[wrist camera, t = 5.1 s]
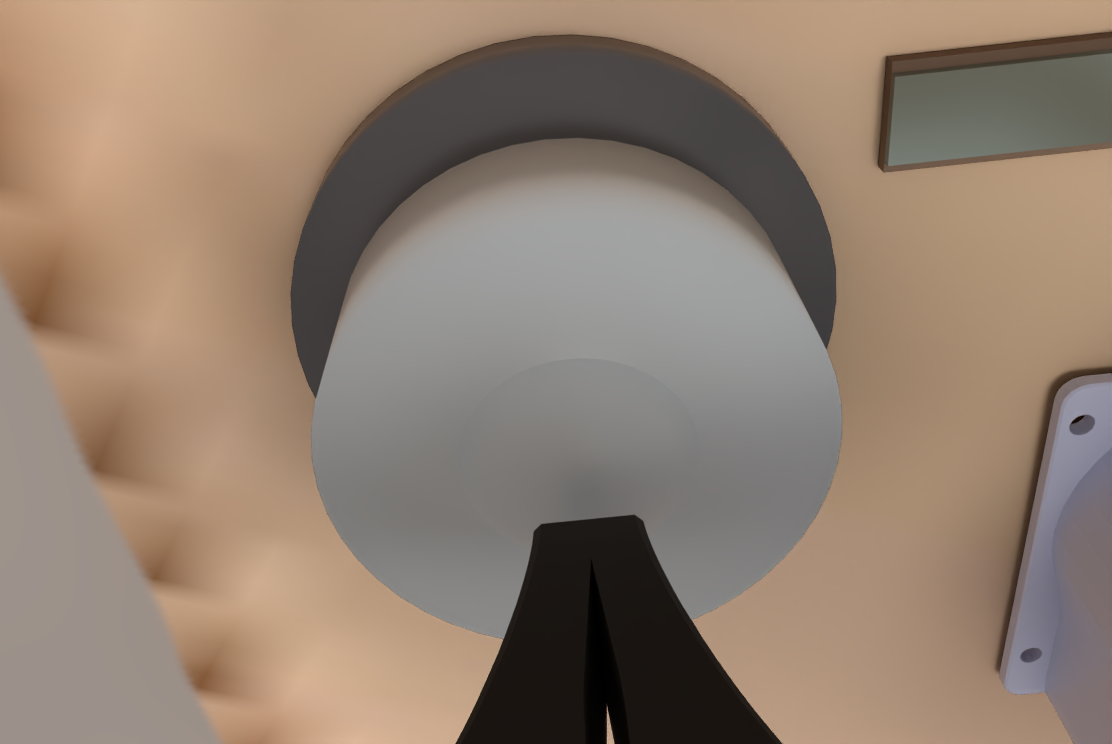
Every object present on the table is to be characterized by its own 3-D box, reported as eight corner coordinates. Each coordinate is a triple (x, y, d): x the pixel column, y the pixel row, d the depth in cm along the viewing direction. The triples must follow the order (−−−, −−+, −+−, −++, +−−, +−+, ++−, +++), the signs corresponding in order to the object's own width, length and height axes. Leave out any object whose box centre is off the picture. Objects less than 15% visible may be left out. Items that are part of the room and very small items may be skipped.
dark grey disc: (809, 471, 23) (824, 507, 22) (360, 517, 23) (353, 554, 22) (831, 4, 17) (851, 21, 16) (241, 68, 17) (224, 91, 16)
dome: (789, 507, 20) (848, 675, 17) (386, 548, 20) (361, 723, 17) (802, 111, 16) (886, 224, 12) (290, 167, 16) (228, 294, 12)
